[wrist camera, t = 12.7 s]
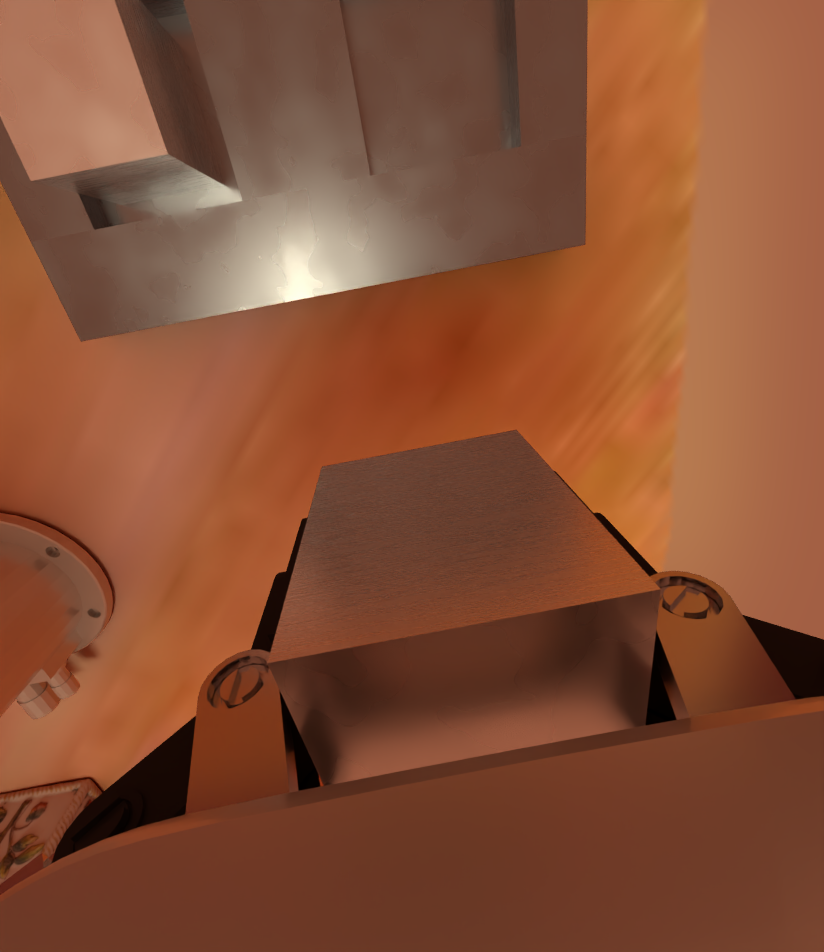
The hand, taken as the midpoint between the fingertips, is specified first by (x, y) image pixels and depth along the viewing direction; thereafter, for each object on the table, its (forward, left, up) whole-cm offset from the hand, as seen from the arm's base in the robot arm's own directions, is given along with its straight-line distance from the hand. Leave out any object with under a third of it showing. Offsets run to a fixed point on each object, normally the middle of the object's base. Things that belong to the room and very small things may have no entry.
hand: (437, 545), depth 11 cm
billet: (0, 0, -1) cm, 1 cm away
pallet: (+14, +3, -17) cm, 22 cm away
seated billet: (+14, +9, -16) cm, 23 cm away
